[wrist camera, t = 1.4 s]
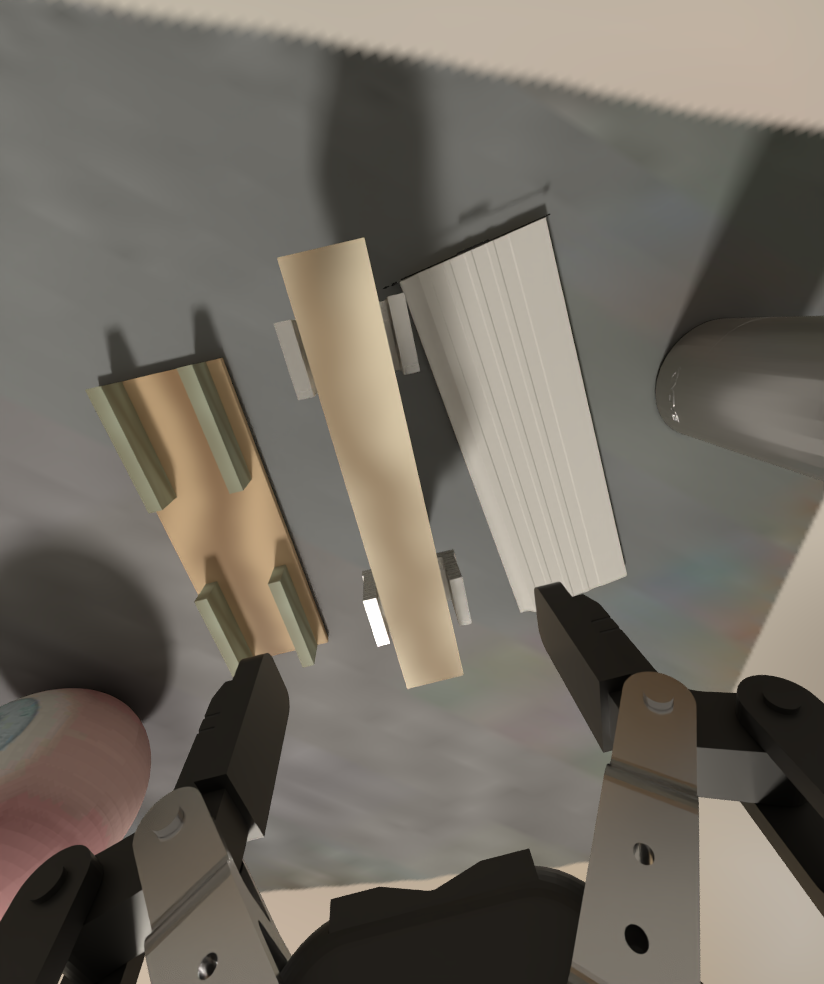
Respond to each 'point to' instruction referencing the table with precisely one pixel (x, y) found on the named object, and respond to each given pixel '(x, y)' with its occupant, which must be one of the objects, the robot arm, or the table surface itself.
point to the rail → (373, 449)
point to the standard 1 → (396, 335)
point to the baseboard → (520, 409)
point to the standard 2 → (451, 587)
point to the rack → (214, 507)
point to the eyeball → (66, 778)
